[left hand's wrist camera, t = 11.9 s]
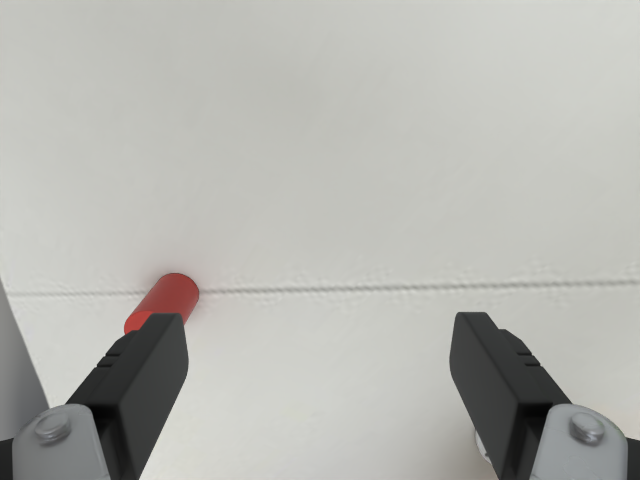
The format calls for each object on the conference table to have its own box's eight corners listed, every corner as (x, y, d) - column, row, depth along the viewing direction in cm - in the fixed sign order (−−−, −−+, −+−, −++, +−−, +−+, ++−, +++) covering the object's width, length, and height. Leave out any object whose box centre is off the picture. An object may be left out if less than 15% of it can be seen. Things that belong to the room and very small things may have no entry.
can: (186, 317, 44) (161, 362, 37) (148, 296, 43) (115, 338, 36) (206, 287, 42) (184, 327, 35) (168, 265, 41) (137, 301, 34)
